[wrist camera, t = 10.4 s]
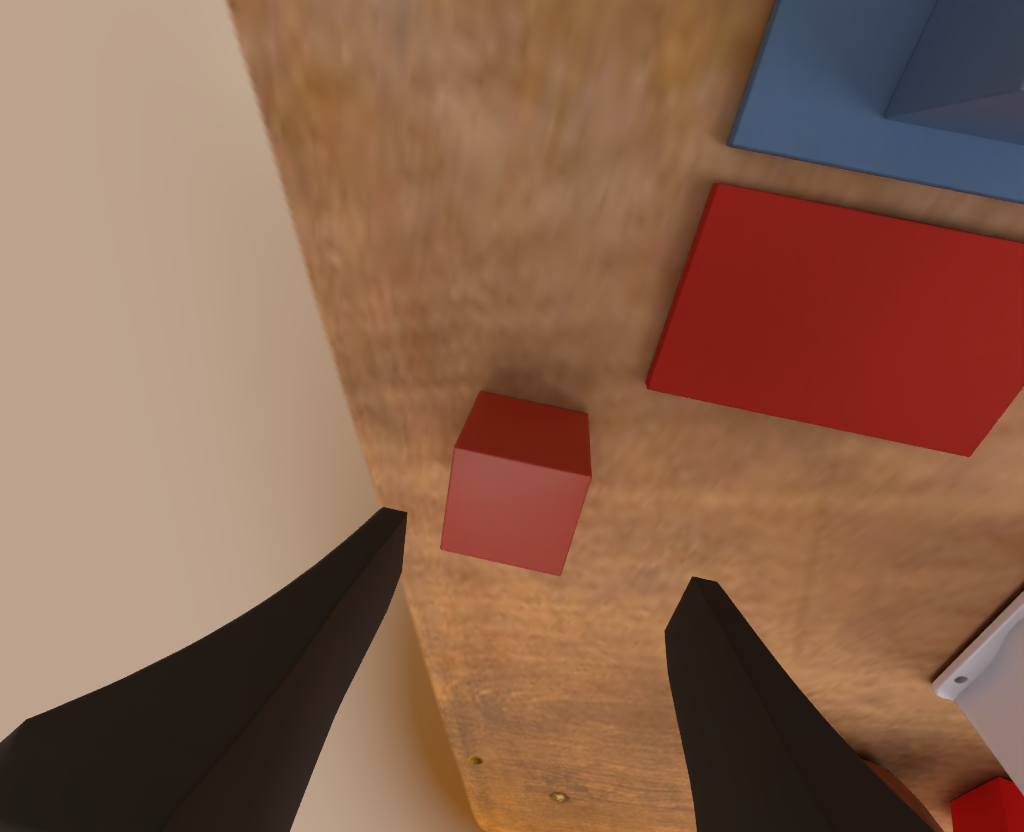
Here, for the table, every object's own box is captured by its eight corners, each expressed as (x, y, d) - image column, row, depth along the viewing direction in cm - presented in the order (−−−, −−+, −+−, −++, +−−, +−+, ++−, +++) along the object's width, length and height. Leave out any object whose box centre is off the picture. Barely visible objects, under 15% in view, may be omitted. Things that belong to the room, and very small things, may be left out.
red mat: (958, 449, 17) (970, 458, 17) (644, 383, 18) (646, 389, 17) (1099, 258, 14) (1120, 261, 14) (712, 182, 14) (718, 182, 14)
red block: (563, 501, 21) (560, 577, 17) (465, 479, 21) (439, 550, 17) (588, 413, 19) (592, 476, 15) (479, 390, 19) (453, 446, 15)
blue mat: (1125, 224, 14) (1148, 226, 13) (725, 146, 14) (731, 144, 13) (1369, -104, 10) (1412, -119, 10) (841, -196, 11) (855, -215, 10)
